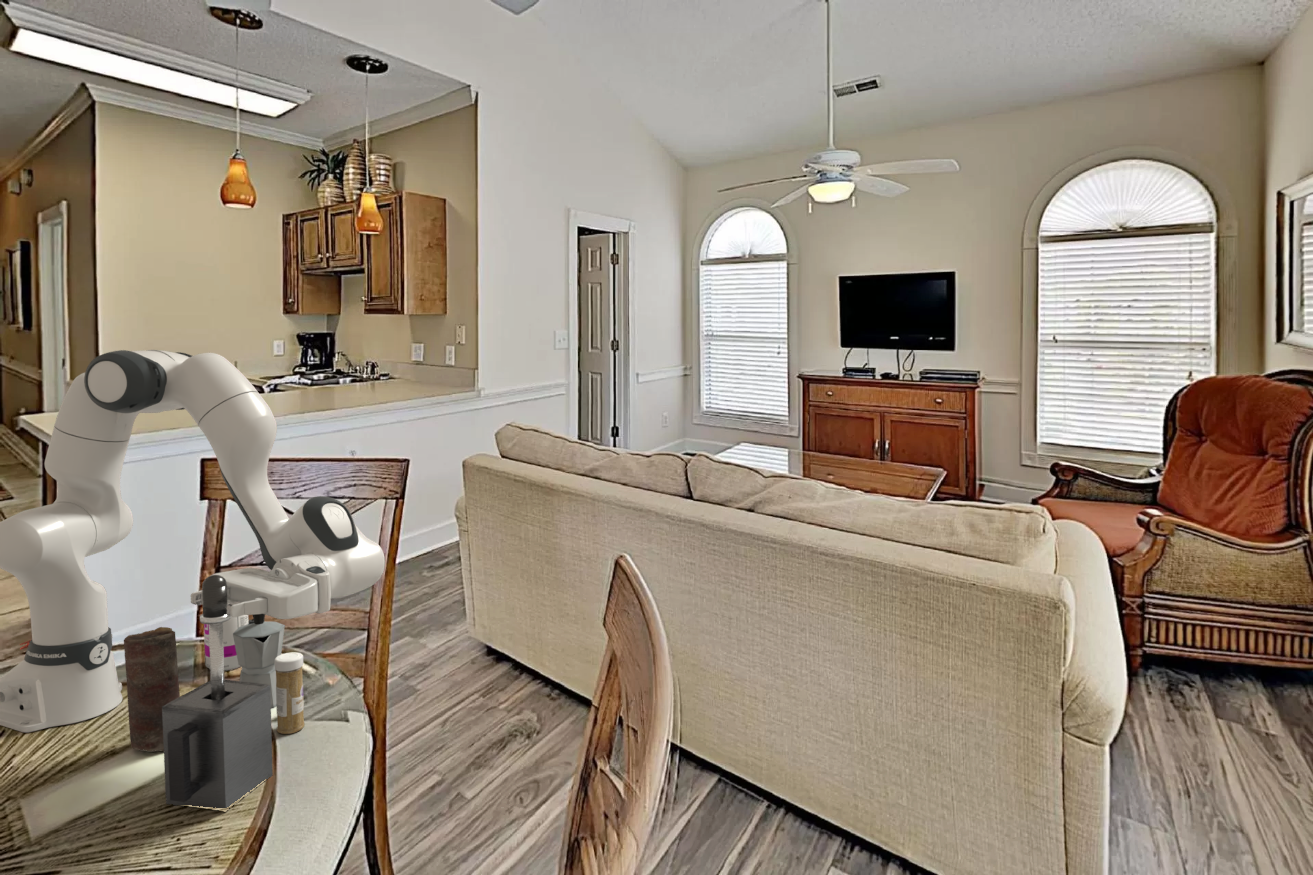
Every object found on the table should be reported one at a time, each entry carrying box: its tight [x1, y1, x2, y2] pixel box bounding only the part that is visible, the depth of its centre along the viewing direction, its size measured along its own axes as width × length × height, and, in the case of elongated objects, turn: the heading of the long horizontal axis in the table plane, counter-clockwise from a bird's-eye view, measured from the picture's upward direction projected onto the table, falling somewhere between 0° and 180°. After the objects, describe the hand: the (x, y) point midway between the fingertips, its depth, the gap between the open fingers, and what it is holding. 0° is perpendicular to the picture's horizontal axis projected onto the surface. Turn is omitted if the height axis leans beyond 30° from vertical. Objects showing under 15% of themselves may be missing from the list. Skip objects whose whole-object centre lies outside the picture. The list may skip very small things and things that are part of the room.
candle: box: [123, 626, 181, 753], centre depth 125 cm, size 8×7×20 cm
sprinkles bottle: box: [275, 651, 306, 735], centre depth 132 cm, size 5×5×13 cm
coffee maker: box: [233, 614, 286, 709], centre depth 143 cm, size 15×9×18 cm, turn 34°
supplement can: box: [203, 603, 249, 672], centre depth 159 cm, size 8×8×15 cm
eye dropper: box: [199, 574, 231, 701], centre depth 112 cm, size 8×8×22 cm
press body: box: [162, 679, 274, 808], centre depth 111 cm, size 10×13×15 cm
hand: (210, 605), depth 110 cm, fingers open, 8 cm apart
